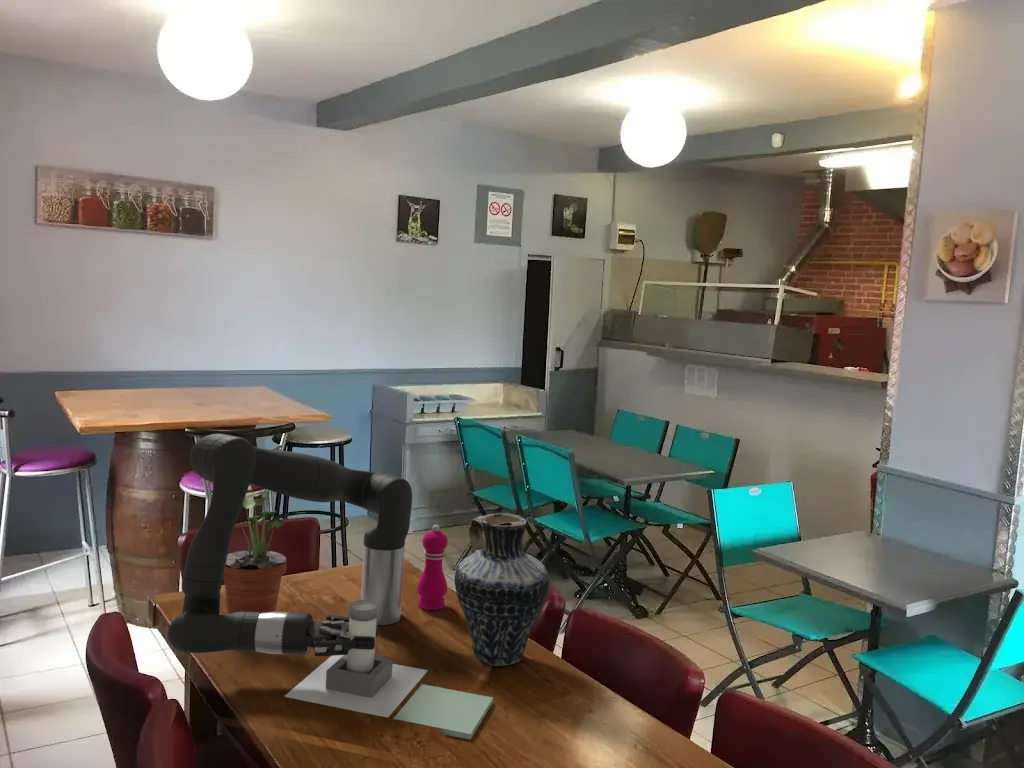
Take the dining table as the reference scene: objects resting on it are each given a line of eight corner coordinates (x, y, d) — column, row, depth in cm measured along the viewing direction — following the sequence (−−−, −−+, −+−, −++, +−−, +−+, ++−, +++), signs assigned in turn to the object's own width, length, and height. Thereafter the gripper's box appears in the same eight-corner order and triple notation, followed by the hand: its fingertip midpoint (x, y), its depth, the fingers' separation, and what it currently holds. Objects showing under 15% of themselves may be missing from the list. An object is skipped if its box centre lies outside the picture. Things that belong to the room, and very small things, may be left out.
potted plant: (273, 600, 198) (280, 454, 195) (292, 623, 185) (299, 467, 182) (204, 608, 190) (210, 456, 186) (219, 633, 177) (225, 471, 174)
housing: (334, 657, 169) (335, 636, 169) (427, 675, 165) (429, 653, 164) (283, 701, 150) (284, 677, 150) (387, 722, 145) (389, 698, 145)
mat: (421, 689, 159) (422, 684, 158) (492, 702, 155) (493, 697, 155) (393, 723, 145) (393, 718, 145) (470, 739, 142) (470, 734, 142)
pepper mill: (441, 613, 197) (446, 530, 195) (411, 609, 198) (416, 526, 196) (449, 603, 204) (454, 522, 202) (421, 599, 205) (426, 519, 204)
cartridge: (352, 674, 160) (356, 598, 159) (377, 679, 159) (382, 602, 158) (340, 686, 155) (344, 607, 154) (366, 691, 154) (370, 612, 153)
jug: (562, 662, 175) (573, 521, 172) (497, 689, 161) (508, 536, 158) (491, 630, 189) (500, 500, 186) (426, 653, 175) (435, 512, 172)
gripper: (276, 628, 148) (373, 633, 149) (292, 599, 162) (381, 603, 163) (274, 669, 149) (371, 673, 150) (290, 636, 163) (379, 640, 164)
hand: (375, 637), depth 157 cm, fingers closed on cartridge, 5 cm apart
